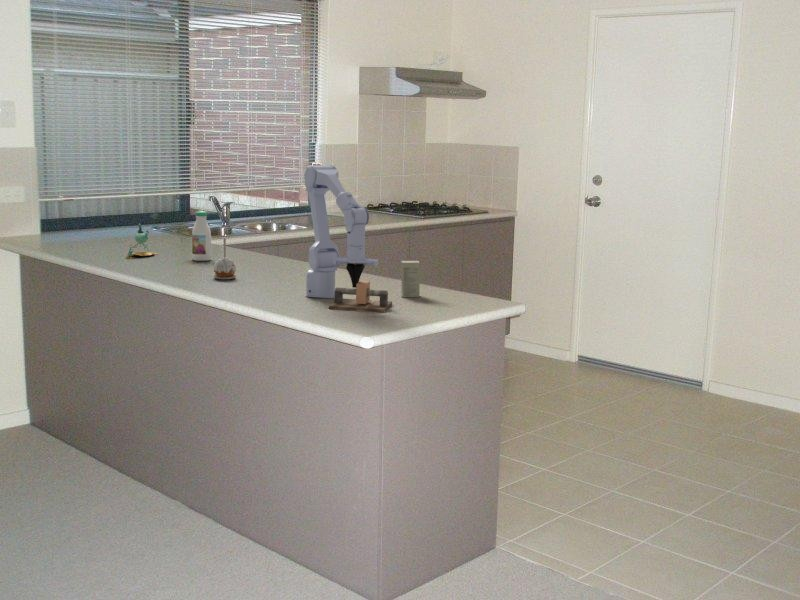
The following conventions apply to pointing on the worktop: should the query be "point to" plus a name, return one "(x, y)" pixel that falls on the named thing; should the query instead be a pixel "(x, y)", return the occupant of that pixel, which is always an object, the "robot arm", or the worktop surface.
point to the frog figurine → (140, 239)
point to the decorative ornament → (224, 267)
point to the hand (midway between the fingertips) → (355, 287)
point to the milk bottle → (201, 238)
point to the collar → (362, 292)
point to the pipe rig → (351, 304)
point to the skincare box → (410, 278)
